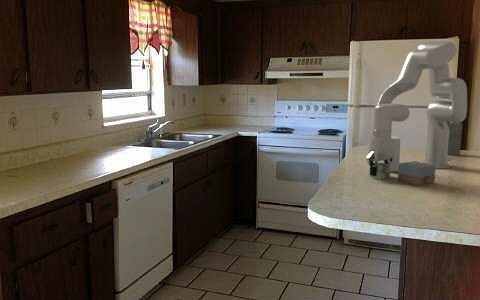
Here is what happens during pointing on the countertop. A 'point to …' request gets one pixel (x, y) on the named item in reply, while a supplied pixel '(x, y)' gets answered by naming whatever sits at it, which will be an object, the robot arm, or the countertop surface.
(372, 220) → the countertop surface
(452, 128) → the dark grey upright block
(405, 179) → the slab bottom
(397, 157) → the skincare box
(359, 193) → the countertop surface
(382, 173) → the sage block
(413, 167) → the slab top
